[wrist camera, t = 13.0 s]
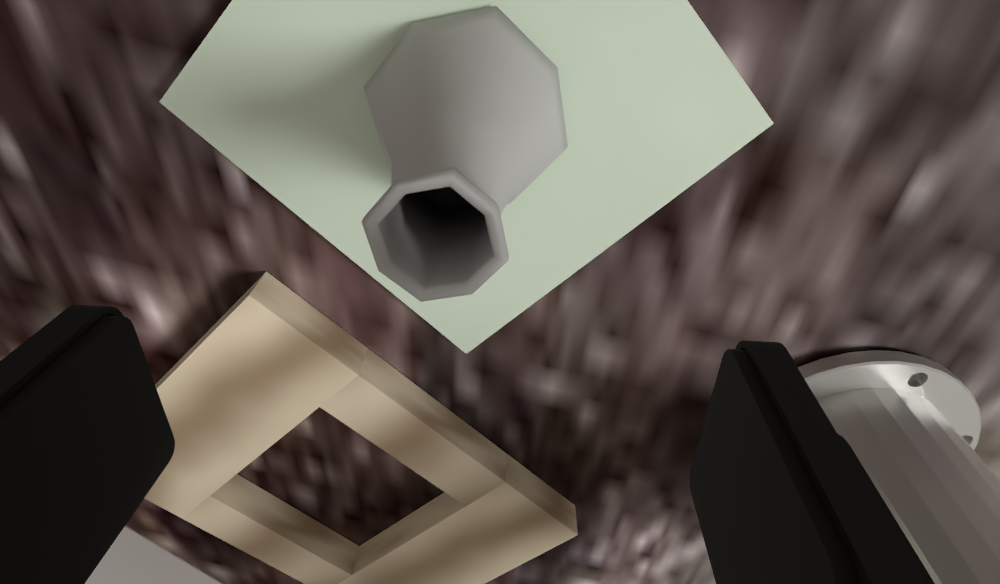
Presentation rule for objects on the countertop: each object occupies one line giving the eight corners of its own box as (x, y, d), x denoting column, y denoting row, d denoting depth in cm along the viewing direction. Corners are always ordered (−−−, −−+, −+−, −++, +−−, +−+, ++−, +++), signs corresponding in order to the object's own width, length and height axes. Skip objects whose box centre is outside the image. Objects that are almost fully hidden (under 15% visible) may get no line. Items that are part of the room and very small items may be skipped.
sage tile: (764, 115, 22) (773, 123, 21) (467, 340, 28) (466, 353, 28) (465, -308, 16) (462, -321, 15) (172, 95, 22) (159, 102, 22)
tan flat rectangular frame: (575, 505, 35) (577, 535, 33) (398, 602, 41) (393, 631, 39) (266, 271, 27) (249, 295, 25) (104, 436, 33) (81, 465, 31)
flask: (507, -38, 19) (497, -2, 10) (599, 153, 22) (647, 297, 14) (330, 75, 21) (202, 181, 12) (438, 234, 24) (395, 403, 16)
